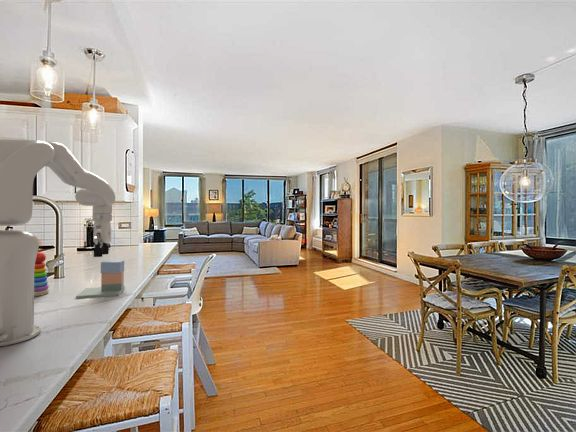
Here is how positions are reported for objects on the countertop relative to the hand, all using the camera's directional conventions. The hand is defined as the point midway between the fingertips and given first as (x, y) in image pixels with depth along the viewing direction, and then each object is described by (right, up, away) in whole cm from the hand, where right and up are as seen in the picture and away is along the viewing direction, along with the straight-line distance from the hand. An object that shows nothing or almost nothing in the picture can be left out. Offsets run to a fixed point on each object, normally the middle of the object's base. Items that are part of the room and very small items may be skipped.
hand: (101, 255), depth 129 cm
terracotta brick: (+3, -13, +4) cm, 14 cm away
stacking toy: (-27, -17, -3) cm, 32 cm away
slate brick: (+3, -8, +3) cm, 9 cm away
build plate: (0, -17, +1) cm, 17 cm away
